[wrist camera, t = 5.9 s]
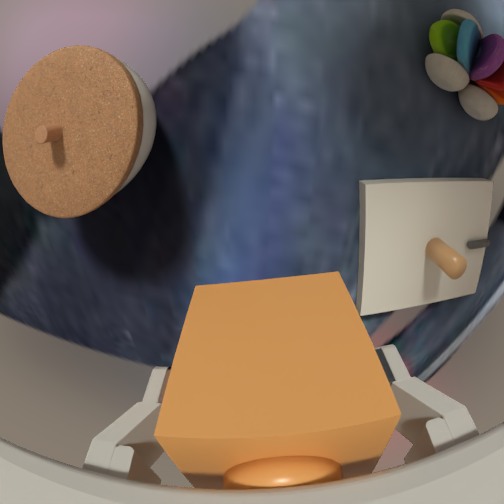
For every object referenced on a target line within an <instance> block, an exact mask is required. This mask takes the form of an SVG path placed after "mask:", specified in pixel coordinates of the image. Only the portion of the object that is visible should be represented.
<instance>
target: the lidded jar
mask: <svg viewBox="0 0 504 504" xmlns="http://www.w3.org/2000/svg"><path fill="white" fill-rule="evenodd" d="M155 132H156V110H155V104H154V101H153V98H152V95H151V93H150V91H149V89H148V87H147V85H146V84H145V82H144V81H143V79H142V78H141V77H140V76H139V75H138V73H137V72H135V71H134V70H133V69H132V68H131V67H130V66H128V65H127V64H126V63H124V62H122V61H120V60H119V59H117V58H115V57H114V56H112V55H111V54H109V53H107V52H105V51H103V50H100V49H98V48H94V47H90V46H78V45H76V46H70V47H65V48H62V49H59V50H56V51H54V52H52V53H50V54H49V55H47V56H45V57H44V58H42V59H41V60H40V61H39V62H37V63H36V64H35V65H34V66H33V67H32V68H31V69H30V70H29V71H28V72H27V73H26V74H25V76H24V77H23V78H22V80H21V81H20V83H19V85H18V86H17V88H16V90H15V92H14V93H13V95H12V98H11V100H10V103H9V105H8V109H7V112H6V116H5V121H4V127H3V152H4V158H5V163H6V167H7V170H8V173H9V176H10V178H11V180H12V182H13V184H14V186H15V187H16V189H17V190H18V192H19V193H20V195H21V196H22V197H23V198H24V199H25V200H26V201H27V202H28V203H29V204H30V205H31V206H33V207H34V208H35V209H37V210H39V211H41V212H42V213H44V214H47V215H50V216H53V217H59V218H74V217H78V216H82V215H85V214H87V213H89V212H91V211H93V210H95V209H97V208H98V207H100V206H101V205H103V204H104V203H105V202H107V201H108V200H109V199H111V198H112V197H113V196H114V195H115V194H116V193H118V192H119V191H120V190H122V189H123V188H124V187H125V186H126V185H127V184H128V183H129V182H130V181H131V180H132V179H133V178H134V177H135V176H136V174H137V173H138V172H139V171H140V169H141V168H142V166H143V164H144V162H145V161H146V159H147V157H148V155H149V153H150V151H151V148H152V146H153V142H154V138H155Z"/></svg>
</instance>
